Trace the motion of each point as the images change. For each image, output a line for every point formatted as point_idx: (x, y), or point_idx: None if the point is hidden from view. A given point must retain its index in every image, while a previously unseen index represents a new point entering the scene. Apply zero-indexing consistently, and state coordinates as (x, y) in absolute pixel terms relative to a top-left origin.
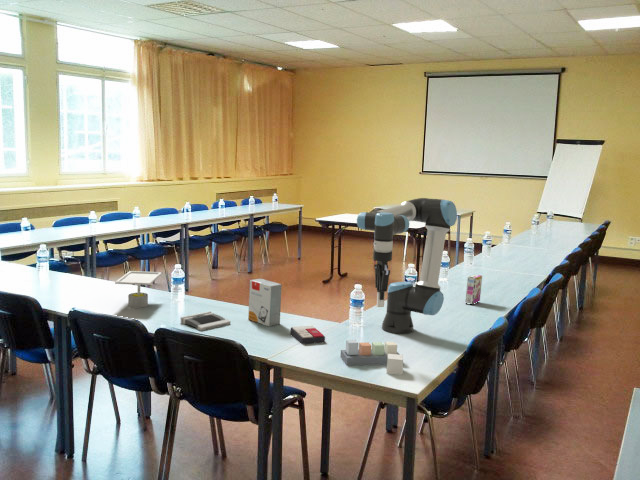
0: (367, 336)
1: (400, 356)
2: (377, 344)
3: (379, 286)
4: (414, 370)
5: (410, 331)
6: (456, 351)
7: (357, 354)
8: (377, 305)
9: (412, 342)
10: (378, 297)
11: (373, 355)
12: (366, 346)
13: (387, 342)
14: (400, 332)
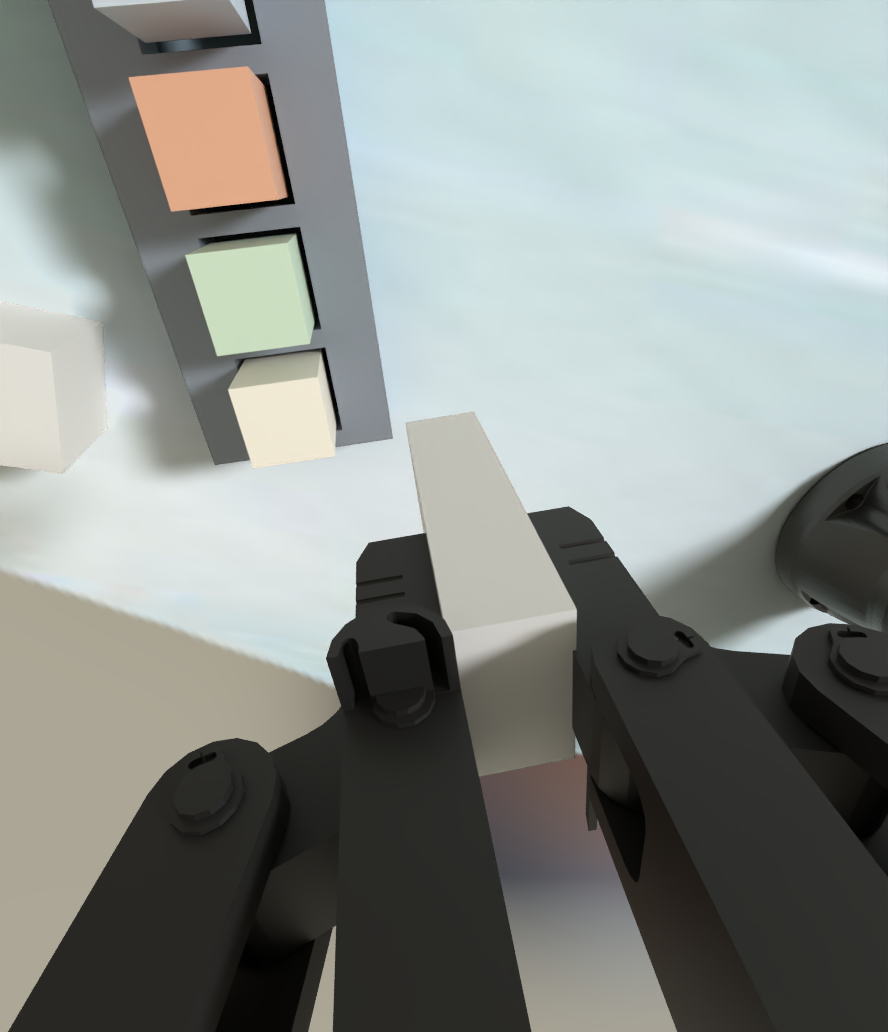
0: (806, 308)
1: (9, 447)
2: (227, 290)
3: (427, 887)
4: (112, 499)
5: (785, 582)
6: None
7: (143, 38)
8: (427, 430)
9: (626, 564)
10: (429, 529)
11: (184, 231)
12: (153, 147)
13: (310, 399)
14: (788, 531)
